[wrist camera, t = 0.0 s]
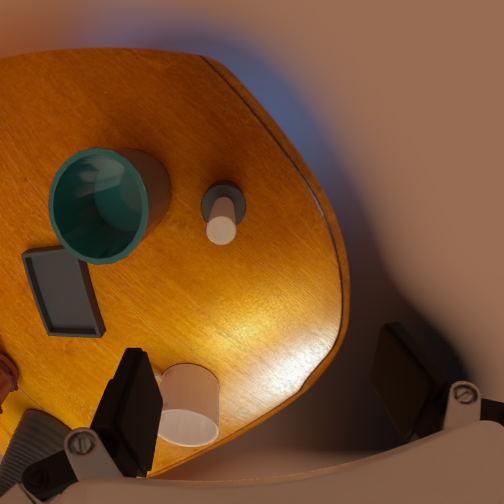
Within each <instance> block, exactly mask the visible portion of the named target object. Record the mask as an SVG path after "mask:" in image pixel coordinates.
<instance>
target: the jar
mask: <svg viewBox="0 0 504 504" xmlns="http://www.w3.org/2000/svg"><path fill="white" fill-rule="evenodd" d="M170 200H171V184H170V179H169V176H168V174H167V171H166V170H165V168H164V166H163V165H162V164H161V162H160V161H159V160H158V159H157V158H155V157H154V156H153V155H151V154H149V153H147V152H145V151H142V150H137V149H129V148H91V149H87V150H83V151H80V152H78V153H76V154H75V155H73V156H72V157H70V158H69V159H67V160H66V161H65V162H64V164H63V165H62V166H61V167H60V169H59V170H58V171H57V173H56V175H55V177H54V179H53V182H52V185H51V188H50V191H49V202H48V210H49V216H50V221H51V225H52V227H53V230H54V232H55V234H56V236H57V238H58V239H59V241H60V243H61V244H62V245H63V246H64V247H65V248H66V250H67V251H68V252H69V253H71V254H72V255H74V256H75V257H77V258H78V259H80V260H81V261H84V262H88V263H92V264H95V265H103V264H112V263H115V262H117V261H119V260H121V259H123V258H125V257H127V256H128V255H129V254H130V253H131V252H132V251H133V250H134V249H135V248H136V247H137V246H138V245H139V244H140V243H141V242H142V241H143V240H144V238H145V237H146V236H147V235H148V234H149V233H150V232H151V231H152V230H153V229H154V228H155V227H156V226H157V225H158V224H159V223H160V222H161V221H162V219H163V217H164V216H165V214H166V212H167V210H168V208H169V205H170Z"/></svg>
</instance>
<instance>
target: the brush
mask: <svg viewBox="0 0 504 504" xmlns="http://www.w3.org/2000/svg"><path fill="white" fill-rule="evenodd" d="M245 212H246V201H245V198H244V195H243V193H242V190H241V189H240V187H239V186H238V185H236V184H235V183H233V182H231V181H227V180H222V181H218V182H215V183H214V184H212V185H211V186H210V187H209V188H208V190H207V191H206V193H205V195H204V196H203V198H202V201H201V213H202V215H203V218H204V219H205V220H206V222H207V223H208V224H207V227H206V233H207V236H208V238H209V239H210V240H211V241H212V242H213V243H215V244H218V245H224V244H227V243H229V242H231V241H232V240H233V239H234V237H235V235H236V225H237V224H239V223H240V222H241V220H242V219H243V217H244V215H245Z"/></svg>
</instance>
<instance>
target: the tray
mask: <svg viewBox="0 0 504 504" xmlns="http://www.w3.org/2000/svg"><path fill="white" fill-rule="evenodd" d="M21 256H22V260H23V264H24V267H25V271H26V274H27V278H28V281H29V284H30V288H31V291H32V294H33V297H34V300H35V302H36V305H37V308H38V311H39V314H40V316H41V319H42V321H43V324H44V326H45V329H46V331H47V334H48V336H63V337H85V338H102V336H103V334H104V333H105V331H106V329H105V326H104V323H103V320H102V317H101V314H100V311H99V308H98V304H97V301H96V298H95V294H94V290H93V287H92V283H91V279H90V276H89V272H88V268H87V263H86V262H84V261H81V260H80V259H78V258H77V257H75V256H74V255H72V254H71V253H69V252H68V251H67V250H66V248H65V247H64V246H63V245H60V246H52V247H44V248H36V249H29V250H27V251H25V252H24V253H22V254H21Z"/></svg>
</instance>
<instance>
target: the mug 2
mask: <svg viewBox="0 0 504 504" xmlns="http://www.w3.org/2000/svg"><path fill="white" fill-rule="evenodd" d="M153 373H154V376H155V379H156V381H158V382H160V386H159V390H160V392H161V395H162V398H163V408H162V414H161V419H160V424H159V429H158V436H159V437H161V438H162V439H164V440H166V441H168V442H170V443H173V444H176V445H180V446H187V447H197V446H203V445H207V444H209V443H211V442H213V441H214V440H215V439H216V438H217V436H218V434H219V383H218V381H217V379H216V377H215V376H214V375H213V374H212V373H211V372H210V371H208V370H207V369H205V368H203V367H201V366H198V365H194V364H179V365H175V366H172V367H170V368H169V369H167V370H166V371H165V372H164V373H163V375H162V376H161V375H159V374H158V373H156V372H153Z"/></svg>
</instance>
